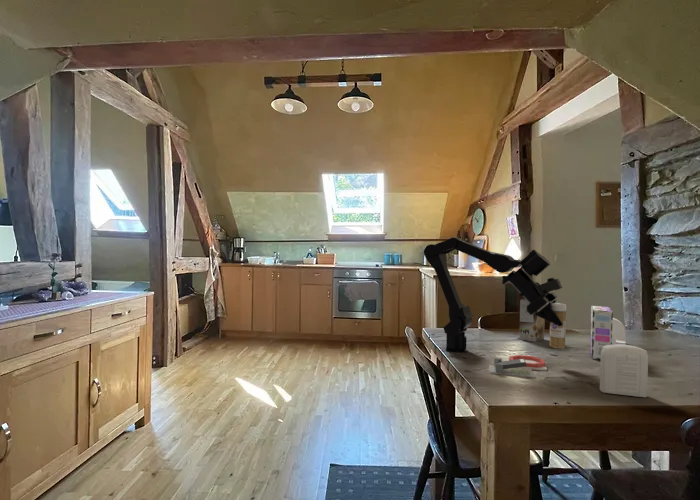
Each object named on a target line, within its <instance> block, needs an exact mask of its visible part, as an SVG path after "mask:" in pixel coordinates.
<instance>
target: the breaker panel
mask: <svg viewBox="0 0 700 500" xmlns="http://www.w3.org/2000/svg"><path fill="white" fill-rule="evenodd" d="M493 359H494V360H493V362H494V363H493V365H490V364H489V365H488V369H489V370H488V371H489V374H491V375H500V376H512V377H521V378H523V377H525V378H533V379H535V378H536V375H535V373H534V371H533V369H526V368H510V369H503V364H500V363H499V362H502V358H499V357H494V358H493Z"/></svg>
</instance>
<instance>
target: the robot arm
mask: <svg viewBox="0 0 700 500" xmlns="http://www.w3.org/2000/svg"><path fill="white" fill-rule="evenodd" d="M455 250H456V251H459V252H461V253H463V254H466V255H467V256H470V257H471V258H472V257H473V258H475V259H477V260H480V261H481V262H483V263H484V264H486V265H488V266H489V267H490V268H491V269H493V270H495V271H496V272H498V273H500V274H502V273H508V274H507V275H502V276H501V277H502V282H501V284H502V285H507V284H508V283H510V285H512V286H513V287H514V288H515V290H516V291H517V292H518V293H519V296H520V297H522V298H523V299H526V300H527V301H528V302H529V303H530V304H529V305H528V306H527V312H528V313H529V314H530V315H533V314H534V313H535V312H536V311H538V312H537V313H536V314H535V315H536V316H539V317H541V318H543V319H545V320H546V321H548V322H549V323H550V322H552V323H554V324H556V325H558V326H562V325H563V323H562V322H561V321H560V319H559V318H558V316H557V315H556V314H555V312H554V311H553V309H552V303H557V301H558V300H557V298H558V295H556V294H555V293H554V292H552V291H558V290H560V289H561V290H562V289H563V286H562V284H561V281H560V279H559V278H555V277H550V278H547V279H546V280H547V281H546V282H545V283H539V282H538V281H534V280H533V279H532V276H534V277H538V276H539V275H541V273H543V272H544V271H545V270H546V269H547V268H548V267H549V266H551V262H550V261H549V259H547V257H545V256H544V255H543V254H541V253H539V252H538V251H537V250H536V249H531V251H530V252H529V253H528V254H527V256H525V257H524V258H523V259H522V260H521V259H515V258H513V256H511V255H509V254H504V253H500V252H499V253H498V252H494V251H493V252H492V251H490V250H488V249H485V248H483V247H480V246H477V245H474V244H473V243H470V242H468V241H466V240H463V239H462V238H459V237H456V236H454V237H450V238H448V239H446V240H443V241H441V242H438V243H435V244H433V243H431V244H427V245H426V247H424V250H423V256H424V258H425V259H426V261H427V262H428V264H429V265H430V266H431V268H432V269H433V270H434V271H435V274H436V277H437V279H438V280H437V281H439V285H440V287H441V291H442V292H443V295H444V298H445V300H446V303H447V306H448V318H449V322H447V324H446V325H444V326H443V331H444V334H446V338H445V339H446V344H445V345H446V347H445V351H447V352H458V353H459V352H460V353H466V350H467V338H468V337H467V336H465V335H466V332H467V330H468V328H469V327H470V326H471V325H472V323H473V318H472V317H474V315H473V313H472V312H471V310H470V306H469V305H464V303H462V301H461V299H460V295H459V294H458V293H459V292H458V291H457V289H456V286H455V283H454V281H453V278H452V274H451V273H450V271H449V268H448V266H447V265H448V263H447V262H448V257H447V255H448V254H450V253H452V252H453V251H455ZM515 268H518V269H517V270H514V269H515Z"/></svg>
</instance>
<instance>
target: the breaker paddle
mask: <svg viewBox="0 0 700 500" xmlns="http://www.w3.org/2000/svg"><path fill="white" fill-rule="evenodd" d="M499 363H500V364H503V369H510V368H518V367H526V362H525V360H524V359H517V360H510V361H509V360H505V361H504V360H503V361H501V362H499Z"/></svg>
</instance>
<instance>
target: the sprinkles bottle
mask: <svg viewBox="0 0 700 500" xmlns="http://www.w3.org/2000/svg"><path fill="white" fill-rule="evenodd" d="M552 309H553V311H554V312H555V314H556V315H557V316H558V318H559V319H560V321H561V322H562V323H563V325H562V326H558V325H556V324H554V323H552V322H550V321H549V346H550V347H552V348H555V349H564V348H566V335H567V334H566V333H567V332H566V329H567V328H566V327H567V325H566V324H567V319H566V316H567V315H566V314H567V313H566V312H567V304H565V303H562V302H561V303H559V302H556V303H552Z"/></svg>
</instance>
